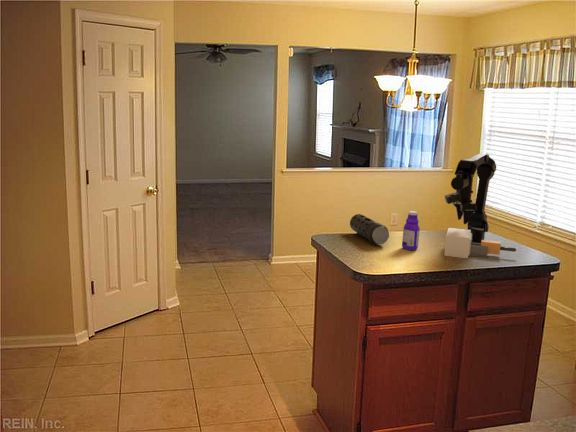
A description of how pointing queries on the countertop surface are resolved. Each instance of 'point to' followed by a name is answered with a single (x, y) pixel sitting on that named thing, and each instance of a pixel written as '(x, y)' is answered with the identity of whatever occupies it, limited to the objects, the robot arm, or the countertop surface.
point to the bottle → (411, 232)
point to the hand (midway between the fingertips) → (462, 221)
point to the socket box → (462, 244)
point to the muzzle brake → (369, 229)
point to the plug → (495, 247)
